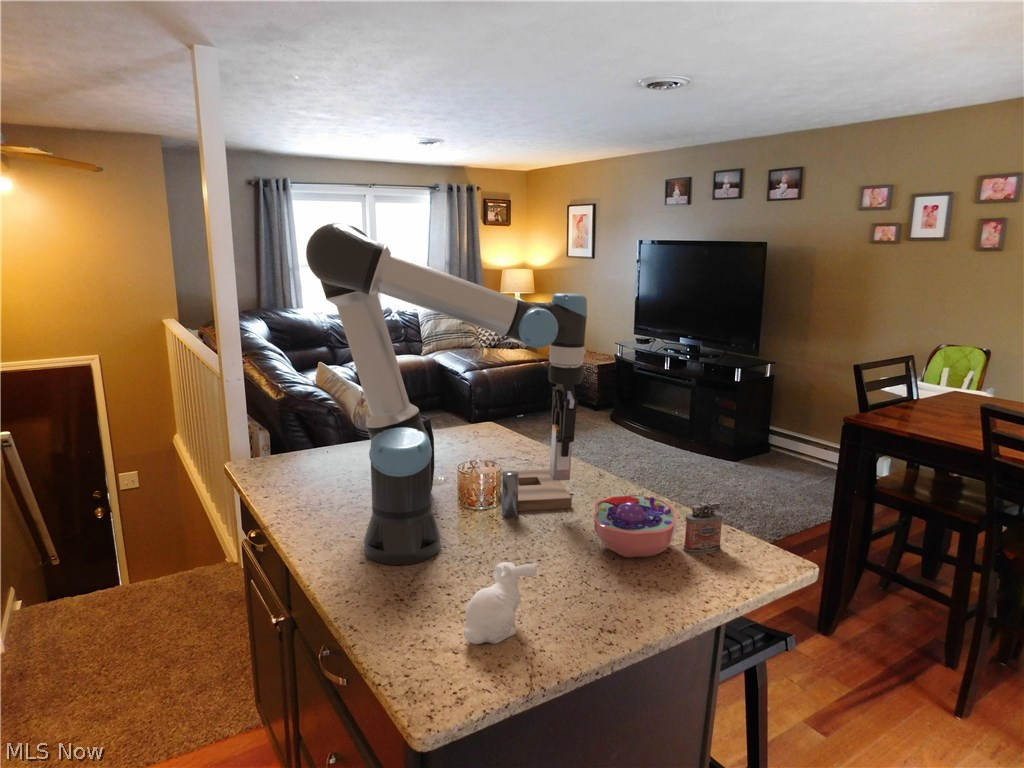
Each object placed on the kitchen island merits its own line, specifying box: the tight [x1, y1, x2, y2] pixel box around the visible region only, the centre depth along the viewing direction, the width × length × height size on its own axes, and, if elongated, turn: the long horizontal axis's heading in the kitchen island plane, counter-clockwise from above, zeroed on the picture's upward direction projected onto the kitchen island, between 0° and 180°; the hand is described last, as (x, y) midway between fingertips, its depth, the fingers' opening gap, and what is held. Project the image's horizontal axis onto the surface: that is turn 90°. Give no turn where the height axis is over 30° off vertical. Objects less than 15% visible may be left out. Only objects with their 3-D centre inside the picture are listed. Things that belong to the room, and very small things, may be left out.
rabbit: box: [463, 561, 538, 645], centre depth 97 cm, size 12×9×12 cm
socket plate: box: [499, 468, 573, 512], centre depth 155 cm, size 20×16×2 cm
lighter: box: [682, 501, 724, 555], centre depth 126 cm, size 8×3×10 cm, turn 105°
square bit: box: [549, 425, 573, 481], centre depth 141 cm, size 4×4×12 cm
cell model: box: [593, 494, 678, 558], centre depth 125 cm, size 17×20×11 cm
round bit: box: [501, 470, 519, 519], centre depth 141 cm, size 4×4×10 cm
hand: (560, 465), depth 142 cm, fingers closed on square bit, 4 cm apart
